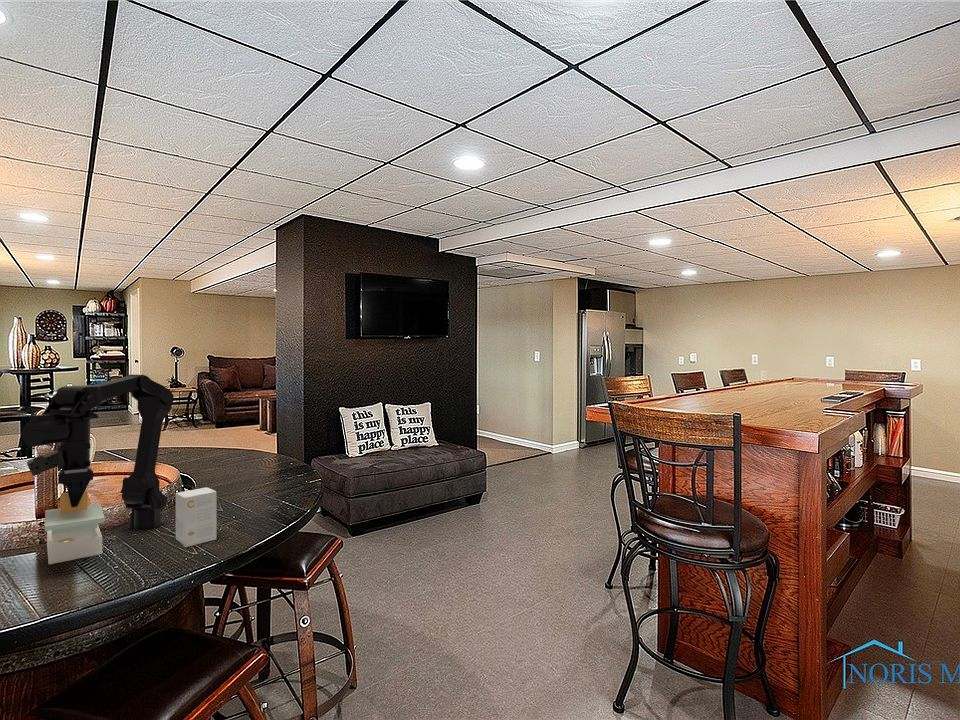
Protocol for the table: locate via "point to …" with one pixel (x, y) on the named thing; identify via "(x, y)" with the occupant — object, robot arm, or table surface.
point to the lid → (73, 516)
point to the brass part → (66, 540)
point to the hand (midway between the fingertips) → (74, 505)
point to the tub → (74, 545)
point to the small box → (196, 516)
